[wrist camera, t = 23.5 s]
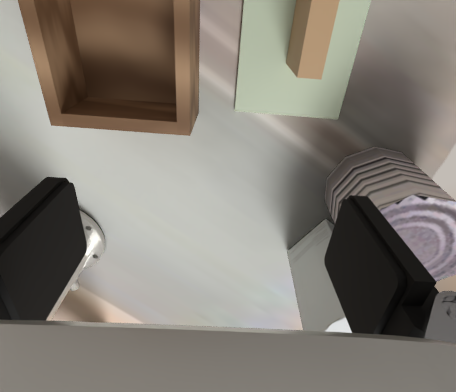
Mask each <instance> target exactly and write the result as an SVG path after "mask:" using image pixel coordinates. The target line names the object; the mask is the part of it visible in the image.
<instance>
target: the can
mask: <svg viewBox="0 0 456 392" xmlns="http://www.w3.org/2000/svg"><path fill="white" fill-rule="evenodd" d="M350 195H356V196H367V197H369V198H370V200H371V201H372V202H373V203H374V205H375V206H376V207H377V208H378V210H379V211H380V212H381V213H382V215H383V216H384V217H385V218H386V220H387V221H388V222H389V223H390V225H391V226H392V227H393V228H394V230H395V231H396V232H397V233H398V234H399V236H400V237H401V238H402V239H403V241H404V242H405V243H406V244H407V246H408V247H409V248H410V249H411V251H412V252H413V253H414V254H415V256H416V257H417V258H418V259H419V261H420V262H421V263H422V264H423V266H424V267H425V268H426V269H427V271H428V272H429V273H430V274H431V276H432V277H433V278H434V279H435V281H439V280H441V279H444V278H447V277H450V276H453V275H456V201H455V200H454V199H453V198H452V197H451V196H449V195H448V194H447V193H446V192H445V191H444V190H443V189H441V188H440V186H438V185H437V184H436V183H435V182H434V181H433V180H432V179H431V178H430V177H428V176H427V175H426V174H425V173H424V172H423V171H422V170H421V169H420V168H418V167H417V166H416V165H415V164H414V163H413V162H412V161H411V160H410V159H408V158H407V157H406V156H405V155H404V154H403V153H402V152H398V151H393V150H389V149H384V148H380V147H375V146H374V147H371V148H369V149H366V150H363V151H360V152H357V153H355V154H352V155H349V156H346V157H345V158H344V159H343V160H342V161H341V162H340V163H339V164H338V166H337V167H336V168H335V169H334V170H333V171H332V172H331V174H330V175H329V176H328V177H327V178H326V189H325V203H326V205H327V207H328V210H329V212H330V214H331V217H332V219H333V221H334V223H335V222H336V219H337V216H338V213H339V210H340V206H341V203H342V201H343V200H344V199H347V198H348V197H349V196H350Z"/></svg>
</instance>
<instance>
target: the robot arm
mask: <svg viewBox="0 0 456 392" xmlns="http://www.w3.org/2000/svg"><path fill="white" fill-rule="evenodd" d="M104 250H105V238H104V235H103V233H102V231H101V229H100V228H99V226H98V225H97V224H96V223H95V222H94V221H93V219H92V218H90V217H89V216H88V215H86V214H85V213H84V212H82V211H80V210H79V206H78V201H77V197H76V192H75V187H74V185H73V183H69V181H68V180H67V179H66V178H55V177H47V178H45V179H44V180H43V181H41V182H40V183H39V184H38V185H37V186H36V187H35V188H34V189H32V190H31V191H30V192H29V193H28V194H27V195H26V196H24V197H23V198H22V199H21V200H20V201H19V202H18V203H17V204H15V205H14V206H13V207H12V208H11V209H10V210H9V211H7V212H6V213H5V214H4V215H3V216H2V217H1V218H0V392H456V292H454V291H442V292H440V293H439V292H438V291H437V289H436V288H435V287H434V286H435V284H436V281H435V279H434V278H433V277H432V276H431V274H430V273H429V272H428V271H427V269H426V268H425V267H424V266H423V264H422V263H421V262H420V261H419V259H418V258H417V257H416V256H415V254H414V253H413V252H412V251H411V249H410V248H409V247H408V246H407V244H406V243H405V242H404V241H403V239H402V238H401V237H400V236H399V234H398V233H397V232H396V231H395V230H394V228H393V227H392V226H391V225H390V223H389V222H388V221H387V220H386V218H385V217H384V216H383V215H382V213H381V212H380V211H379V210H378V208H377V207H376V206H375V205H374V203H373V202H372V201H371V200H370V198H369V197H367V196H356V195H350V196H349V197H348V198H347V199H344V200H343V201H342V203H341V206H340V210H339V213H338V216H337V219H336V222H335V225H334V228H333V232H332V235H331V238H330V241H329V244H328V247H327V250H326V254H325V257H324V263H325V267H326V270H327V272H328V275H329V277H330V280H331V282H332V284H333V287H334V289H335V292H336V294H337V297H338V299H339V302H340V304H341V307H342V309H343V312H344V314H345V317H346V319H347V322H348V324H349V327H350V329H351V332H352V333H346V332H326V331H304V330H282V329H260V328H236V327H211V326H186V325H160V324H133V323H104V322H74V321H51V320H52V318H53V317H54V315H55V313H56V311H57V310H58V308H59V306H60V305H61V303H62V301H63V300H64V298H65V296H66V295H67V293H68V291H69V290H71V291H75V290H77V289H78V288H79V284H78V280H77V278H78V277H79V275H80V273H81V271H82V270H83V269H86V268H89V267H91V266H93V265H94V264H96V263H97V262H98V261H99V260H100V258H101V257H102V255H103V253H104Z"/></svg>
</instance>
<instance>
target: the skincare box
mask: <svg viewBox="0 0 456 392" xmlns="http://www.w3.org/2000/svg"><path fill="white" fill-rule="evenodd" d="M333 228H334V224H332V223H331V222H330V221H328V220H327V219H325V220H323V221H322V222H321V223H320V224H319V225H318V226H316V227H315V228H314V229H313V230H312V231H311V232H310V233H308V234H307V235H306V236H305V237H304V238H302V239H301V240H300V241H299V242H298V243H297V244H296V245H294V246H293V247H292V248H291V249H290V250H288V251H287V254H288V259H289V264H290V268H291V273H292V278H293V283H294V288H295V293H296V298H297V302H298V307H299V312H300V317H301V322H302V327H303V330H304V331H326V332H346V333H352V332H351V329H350V327H349V324H348V322H347V319H346V317H345V314H344V312H343V309H342V307H341V304H340V302H339V299H338V297H337V294H336V292H335V289H334V287H333V284H332V282H331V280H330V277H329V275H328V272H327V270H326V267H325V263H324V257H325V254H326V250H327V247H328V244H329V241H330V238H331V235H332V232H333Z"/></svg>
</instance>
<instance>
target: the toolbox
mask: <svg viewBox="0 0 456 392" xmlns="http://www.w3.org/2000/svg"><path fill="white" fill-rule="evenodd" d="M18 3H19V7H20V10H21V14H22V18H23V22H24V25H25V29H26V33H27V37H28V40H29V44H30V48H31V52H32V55H33V59H34V63H35V67H36V70H37V74H38V78H39V82H40V85H41V89H42V93H43V97H44V100H45V104H46V108H47V112H48V115H49V119H50V123H51V125H53V126H67V127H80V128H94V129H107V130H121V131H134V132H148V133H161V134H175V135H188V136H190V134H191V132H192V129H193V126H194V124H195V121H196V118H197V116H198V112H199V29H200V0H18Z"/></svg>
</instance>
